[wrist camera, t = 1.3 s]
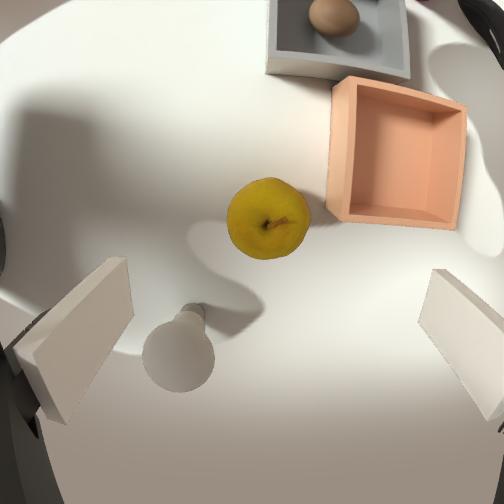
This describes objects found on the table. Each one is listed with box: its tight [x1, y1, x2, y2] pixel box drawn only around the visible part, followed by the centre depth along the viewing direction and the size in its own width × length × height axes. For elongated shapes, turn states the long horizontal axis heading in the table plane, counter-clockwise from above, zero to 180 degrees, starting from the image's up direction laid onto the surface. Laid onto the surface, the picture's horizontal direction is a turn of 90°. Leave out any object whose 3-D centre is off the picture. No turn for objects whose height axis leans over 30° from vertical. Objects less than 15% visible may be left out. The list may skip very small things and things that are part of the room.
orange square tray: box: [325, 76, 467, 231], centre depth 23 cm, size 11×11×6 cm
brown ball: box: [309, 0, 360, 39], centre depth 19 cm, size 4×4×4 cm
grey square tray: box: [265, 0, 411, 85], centre depth 19 cm, size 11×11×6 cm
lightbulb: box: [142, 303, 215, 393], centre depth 26 cm, size 6×6×11 cm
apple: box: [227, 178, 310, 260], centre depth 24 cm, size 6×6×8 cm
